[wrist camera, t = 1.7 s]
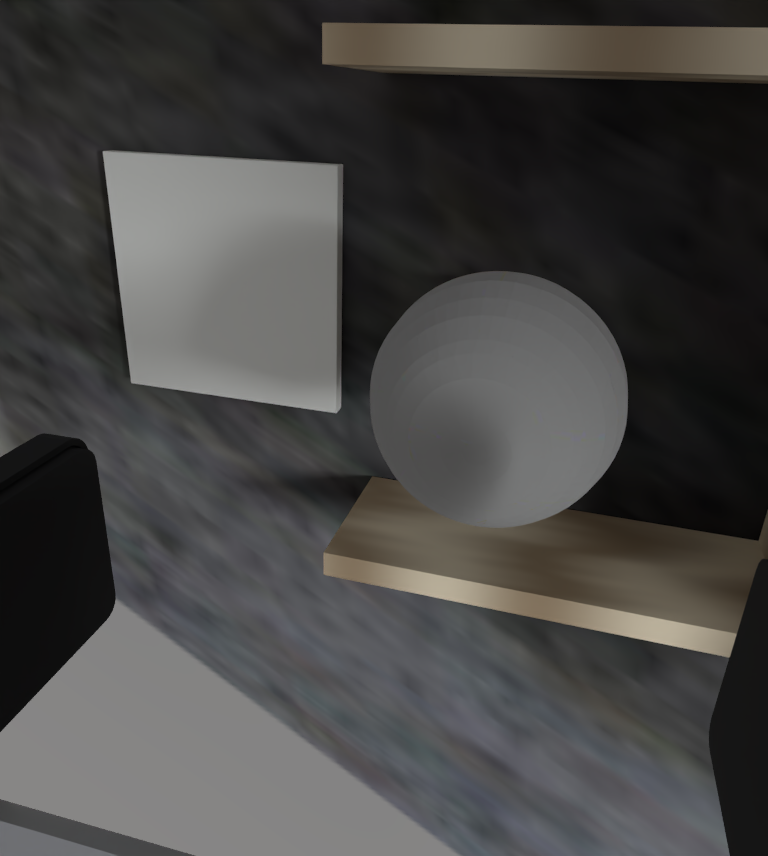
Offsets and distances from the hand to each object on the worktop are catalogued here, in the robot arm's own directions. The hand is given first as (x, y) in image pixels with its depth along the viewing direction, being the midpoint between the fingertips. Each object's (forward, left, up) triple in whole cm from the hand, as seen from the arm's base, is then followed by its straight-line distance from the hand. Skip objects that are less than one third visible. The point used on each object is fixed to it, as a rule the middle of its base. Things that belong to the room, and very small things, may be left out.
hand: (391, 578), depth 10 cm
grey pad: (+9, 0, -14) cm, 17 cm away
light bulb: (-1, 0, -14) cm, 14 cm away
